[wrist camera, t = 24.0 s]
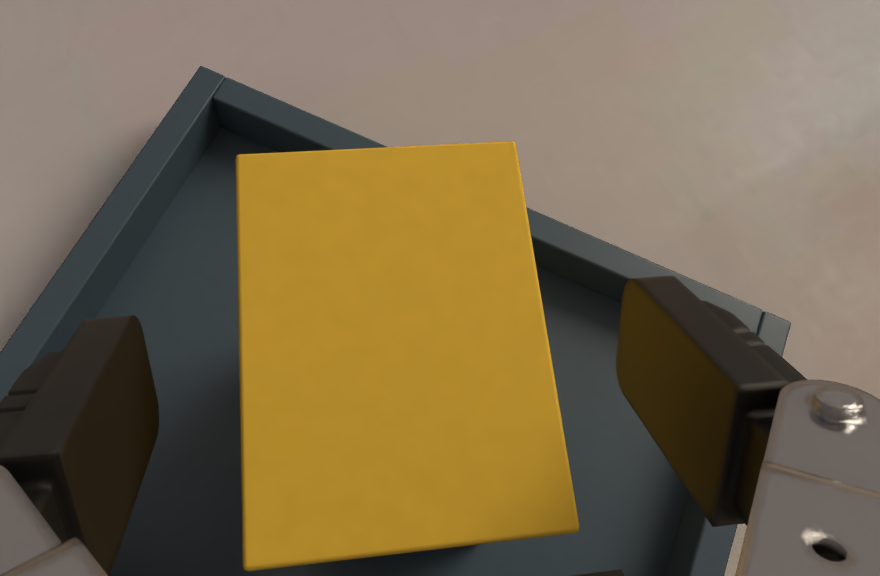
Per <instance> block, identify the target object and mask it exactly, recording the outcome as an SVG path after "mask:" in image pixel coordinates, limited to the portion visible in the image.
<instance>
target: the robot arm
mask: <svg viewBox="0 0 880 576" xmlns="http://www.w3.org/2000/svg"><path fill="white" fill-rule="evenodd" d="M616 372H617V378H618V382H619V386H620V389H621V391H622V393H623V395H624V397H625V398H626V400H627V401H628V403H629V404H630V406H631V407H632V408H633V410H634V411H635V413H636V414H637V416H638V417H639V419H640V420H641V422H642V423H643V425H644V426H645V428H646V429H647V431H648V432H649V434H650V435H651V437H652V438H653V440H654V441H655V443H656V444H657V446H658V447H659V448H660V450H661V451H662V453H663V454H664V456H665V457H666V459H667V460H668V462H669V463H670V465H671V466H672V468H673V469H674V471H675V472H676V474H677V475H678V477H679V478H680V480H681V481H682V483H683V484H684V485H685V487H686V488H687V490H688V491H689V493H690V494H691V496H692V497H693V499H694V500H695V502H696V503H697V505H698V506H699V508H700V509H701V511H702V512H703V514H704V515H705V517H706V518H707V520H708V521H709V523H710V524H711V525H712V527H718V526H727V525H735V524H743V523H745V524H746V525H747V529H746V533H745V537H744V542H743V546H742V550H741V554H740V558H739V563H738V567H737V571H736V575H735V576H880V400H879V399H878V398H876V397H874V396H873V395H871V394H869V393H867V392H865V391H862V390H860V389H858V388H855V387H852V386H849V385H845V384H841V383H837V382H832V381H825V380H807V379H806V378H805V377H804V376H803V375H801V374H800V373H799V372H798V371H797V370H796V369H795V368H793V367H792V366H791V365H790V364H789V363H788V362H787V361H786V360H784V359H783V358H782V357H781V356H780V355H779V354H778V353H777V352H775V351H774V350H773V349H772V348H771V347H770V346H769V345H765V344H764V341H763V340H762V339H761V338H760V337H759V336H757V335H756V334H755V333H754V332H750V328H748V327H747V326H746V325H745V324H744V323H743V322H742V321H740V320H739V319H738V318H737V317H736V316H735V315H734V314H733V313H731V312H729V311H727V310H725V309H722V308H720V307H718V306H716V305H714V304H712V303H710V302H708V301H701V300H700V299H699V298H698V297H697V296H696V295H695V294H694V293H692V292H691V291H690V290H689V289H688V288H687V287H686V286H685V285H684V284H683V283H682V282H681V281H680V280H678V279H677V278H676V277H675V276H672V275H671V276H658V277H644V278H631V279H629V280H628V281H627V282H626V284H625V286H624V290H623V295H622V305H621V315H620V325H619V335H618V345H617V355H616ZM158 430H159V406H158V399H157V394H156V389H155V385H154V380H153V375H152V371H151V366H150V361H149V357H148V352H147V347H146V343H145V338H144V333H143V329H142V326H141V323H140V321H139V319H138V318H137V317H136V316H135V315H133V316H120V317H106V318H93V319H85V320H83V321H82V322H81V324H80V325H79V327H78V328H77V330H76V332H75V333H74V335H73V336H72V338H71V339H70V341H69V342H68V344H67V345H66V347H65V348H64V350H63V351H62V352H51V353H48V354H47V355H45V356H44V357H43V358H41V359H40V360H38V361H37V362H35V363H34V364H33V365H31V366H30V367H28V368H27V369H25V370H24V371H23V372H22V373H21V374H20V376H19V377H18V379H17V380H16V381H15V383H14V384H13V386H12V387H11V388H10V390H9V391H8V396H5V397H4V398H3V400H2V401H1V402H0V576H110V574H111V572H112V569H113V566H114V563H115V560H116V557H117V554H118V551H119V548H120V545H121V542H122V539H123V536H124V533H125V531H126V528H127V525H128V522H129V519H130V516H131V513H132V510H133V507H134V504H135V501H136V498H137V495H138V492H139V490H140V487H141V484H142V481H143V478H144V475H145V472H146V469H147V466H148V463H149V460H150V457H151V454H152V451H153V449H154V446H155V443H156V440H157V436H158ZM572 576H624V574H623V572H622V570H621V569H619V570H611V571H604V572H596V573H588V574H580V575H572Z"/></svg>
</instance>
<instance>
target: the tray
mask: <svg viewBox="0 0 880 576" xmlns="http://www.w3.org/2000/svg"><path fill="white" fill-rule="evenodd" d="M384 147H386V146H384V145H382V144H379V143H377V142H375V141H372V140H370V139H368V138H365V137H363V136H361V135H359V134H356V133H354V132H352V131H349V130H347V129H345V128H342V127H340V126H338V125H336V124H333V123H331V122H329V121H326V120H324V119H322V118H319V117H317V116H315V115H312V114H310V113H308V112H306V111H303V110H301V109H299V108H296V107H294V106H292V105H289V104H287V103H285V102H283V101H280V100H278V99H276V98H273V97H271V96H269V95H266V94H264V93H262V92H260V91H257V90H255V89H253V88H250V87H248V86H246V85H243V84H241V83H239V82H237V81H234V80H232V79H230V78H225V76H223V75H221V74H219V73H216V72H214V71H212V70H209V69H207V68H205V67H202V66H200V67H199V69H198V70H197V72H196V73H195V75H194V76H193V77H192V79H191V80H190V82H189V83H188V85H187V86H186V87H185V89H184V90H183V92H182V93H181V95H180V96H179V97H178V99H177V100H176V102H175V103H174V105H173V106H172V107H171V109H170V110H169V112H168V113H167V115H166V116H165V117H164V119H163V120H162V122H161V123H160V125H159V126H158V127H157V129H156V130H155V132H154V133H153V135H152V136H151V137H150V139H149V140H148V142H147V143H146V145H145V146H144V148H143V149H142V150H141V152H140V153H139V155H138V156H137V158H136V159H135V160H134V162H133V163H132V165H131V166H130V168H129V169H128V170H127V172H126V173H125V175H124V176H123V178H122V179H121V180H120V182H119V183H118V185H117V186H116V188H115V189H114V190H113V192H112V193H111V195H110V196H109V198H108V199H107V200H106V202H105V203H104V205H103V206H102V208H101V209H100V211H99V212H98V213H97V215H96V216H95V218H94V219H93V221H92V222H91V223H90V225H89V226H88V228H87V229H86V231H85V232H84V233H83V235H82V236H81V238H80V239H79V241H78V242H77V243H76V245H75V246H74V248H73V249H72V251H71V252H70V253H69V255H68V256H67V258H66V259H65V261H64V262H63V263H62V265H61V266H60V268H59V269H58V271H57V272H56V273H55V275H54V276H53V278H52V279H51V281H50V282H49V284H48V285H47V286H46V288H45V289H44V291H43V292H42V294H41V295H40V296H39V298H38V299H37V301H36V302H35V304H34V305H33V306H32V308H31V309H30V311H29V312H28V314H27V315H26V316H25V318H24V319H23V321H22V322H21V324H20V325H19V326H18V328H17V329H16V331H15V332H14V334H13V335H12V336H11V338H10V339H9V341H8V342H7V344H6V345H5V346H4V348H3V349H2V351H1V352H0V402H1V401H2V400H3V398H4V397H5V396H8V391H9V390H10V388H11V387H12V386H13V384H14V383H15V381H16V380H17V379H18V377H19V376H20V374H21V373H22V372H23V371H24V370H25V369H27V368H28V367H30V366H31V365H33V364H34V363H35V362H37V361H38V360H40V359H41V358H43V357H44V356H45V355H47V354H48V353H51V352H62V351H63V350H64V348H65V347H66V345H67V344H68V342H69V341H70V339H71V338H72V336H73V335H74V333H75V332H76V330H77V328H78V327H79V325H80V324H81V322H82V321H83V320H85V319H93V318H106V317H120V316H133V315H135V316H136V317H137V318H138V319H139V321H140V323H141V326H142V329H143V333H144V338H145V343H146V347H147V352H148V357H149V361H150V366H151V371H152V375H153V380H154V385H155V389H156V394H157V399H158V406H159V430H158V436H157V440H156V443H155V446H154V449H153V451H152V454H151V457H150V460H149V463H148V466H147V469H146V472H145V475H144V478H143V481H142V484H141V487H140V490H139V492H138V495H137V498H136V501H135V504H134V507H133V510H132V513H131V516H130V519H129V522H128V525H127V528H126V531H125V533H124V536H123V539H122V542H121V545H120V548H119V551H118V554H117V557H116V560H115V563H114V566H113V569H112V572H111V574H110V576H572V575H580V574H588V573H596V572H604V571H611V570H619V569H621V570H622V572H623V574H624V576H724V573H725V569H726V566H727V562H728V558H729V554H730V551H731V547H732V543H733V539H734V536H735V532H736V528H737V524H735V525H727V526H718V527H712V525H711V524H710V523H709V521H708V520H707V518H706V517H705V515H704V514H703V512H702V511H701V509H700V508H699V506H698V505H697V503H696V502H695V500H694V499H693V497H692V496H691V494H690V493H689V491H688V490H687V488H686V487H685V485H684V484H683V483H682V481H681V480H680V478H679V477H678V475H677V474H676V472H675V471H674V469H673V468H672V466H671V465H670V463H669V462H668V460H667V459H666V457H665V456H664V454H663V453H662V451H661V450H660V448H659V447H658V446H657V444H656V443H655V441H654V440H653V438H652V437H651V435H650V434H649V432H648V431H647V429H646V428H645V426H644V425H643V423H642V422H641V420H640V419H639V417H638V416H637V414H636V413H635V411H634V410H633V408H632V407H631V406H630V404H629V403H628V401H627V400H626V398H625V397H624V395H623V393H622V391H621V389H620V386H619V382H618V378H617V372H616V355H617V345H618V335H619V325H620V315H621V305H622V295H623V290H624V286H625V284H626V282H627V281H628V280H629V279H631V278H644V277H658V276H671V275H672V276H675V277H676V278H677V279H678V280H680V281H681V282H682V283H683V284H684V285H685V286H686V287H687V288H688V289H689V290H690V291H691V292H692V293H694V294H695V295H696V296H697V297H698V298H699V299H700V300H701V301H708V302H710V303H712V304H714V305H716V306H718V307H720V308H722V309H725V310H727V311H729V312H731V313H733V314H734V315H735V316H736V317H737V318H738V319H739V320H740V321H742V322H743V323H744V324H745V325H746V326H747V327H748V328H750V332H754V333H755V334H756V335H757V336H759V337H760V338H761V339H762V340H763V341H764V344H765V345H769V346H770V347H771V348H772V349H773V350H774V351H775V352H777V353H778V354H779V355H780V356H781V357H782V355H783V352H784V348H785V344H786V340H787V337H788V333H789V329H790V325H791V323H790V322H789V321H786V320H784V319H782V318H780V317H777V316H775V315H773V314H770V313H768V312H762V310H761V309H759V308H757V307H754V306H752V305H750V304H747V303H745V302H743V301H741V300H738V299H736V298H734V297H731V296H729V295H727V294H724V293H722V292H720V291H718V290H715V289H713V288H711V287H708V286H706V285H704V284H701V283H699V282H697V281H695V280H692V279H690V278H688V277H685V276H683V275H681V274H678V273H676V272H674V271H672V270H669V269H667V268H665V267H662V266H660V265H658V264H655V263H653V262H651V261H648V260H646V259H644V258H642V257H639V256H637V255H635V254H632V253H630V252H628V251H625V250H623V249H621V248H619V247H616V246H614V245H612V244H609V243H607V242H605V241H602V240H600V239H598V238H596V237H593V236H591V235H589V234H586V233H584V232H582V231H579V230H577V229H575V228H573V227H570V226H568V225H566V224H563V223H561V222H559V221H556V220H554V219H552V218H550V217H547V216H545V215H543V214H540V213H538V212H536V211H533V210H531V209H529V208H527V207H526V209H527V215H528V221H529V227H530V233H531V239H532V245H533V251H534V257H535V263H536V269H537V275H538V281H539V287H540V293H541V299H542V305H543V311H544V317H545V323H546V329H547V335H548V341H549V347H550V353H551V359H552V365H553V371H554V377H555V383H556V389H557V395H558V401H559V407H560V413H561V419H562V425H563V431H564V437H565V443H566V449H567V455H568V461H569V467H570V473H571V479H572V485H573V491H574V497H575V503H576V509H577V515H578V521H579V531H578V532H576V533H571V534H563V535H554V536H546V537H537V538H529V539H520V540H512V541H503V542H495V543H486V544H478V545H469V546H461V547H452V548H444V549H435V550H427V551H418V552H410V553H401V554H393V555H384V556H376V557H367V558H359V559H350V560H342V561H333V562H325V563H316V564H308V565H299V566H291V567H282V568H274V569H265V570H257V571H246V570H244V568H243V554H242V498H241V441H240V385H239V329H238V273H237V217H236V161H235V159H236V157H237V155H240V154H259V153H280V152H301V151H321V150H342V149H363V148H384Z"/></svg>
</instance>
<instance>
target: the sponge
mask: <svg viewBox="0 0 880 576" xmlns="http://www.w3.org/2000/svg"><path fill="white" fill-rule="evenodd" d="M235 161H236V217H237V273H238V329H239V385H240V441H241V498H242V554H243V568H244V570H246V571H257V570H265V569H274V568H282V567H291V566H299V565H308V564H316V563H325V562H333V561H342V560H350V559H359V558H367V557H376V556H384V555H393V554H401V553H410V552H418V551H427V550H435V549H444V548H452V547H461V546H469V545H478V544H486V543H495V542H503V541H512V540H520V539H529V538H537V537H546V536H554V535H563V534H571V533H576V532H578V531H579V521H578V515H577V509H576V503H575V497H574V491H573V485H572V479H571V473H570V467H569V461H568V455H567V449H566V443H565V437H564V431H563V425H562V419H561V413H560V407H559V401H558V395H557V389H556V383H555V377H554V371H553V365H552V359H551V353H550V347H549V341H548V335H547V329H546V323H545V317H544V311H543V305H542V299H541V293H540V287H539V281H538V275H537V269H536V263H535V257H534V251H533V245H532V239H531V233H530V227H529V221H528V215H527V209H526V203H525V197H524V191H523V185H522V179H521V173H520V167H519V161H518V155H517V149H516V145H515V143H514V142H512V141H510V142H489V143H468V144H447V145H426V146H405V147H384V148H363V149H342V150H321V151H301V152H280V153H259V154H240V155H237V157H236V159H235Z"/></svg>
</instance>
